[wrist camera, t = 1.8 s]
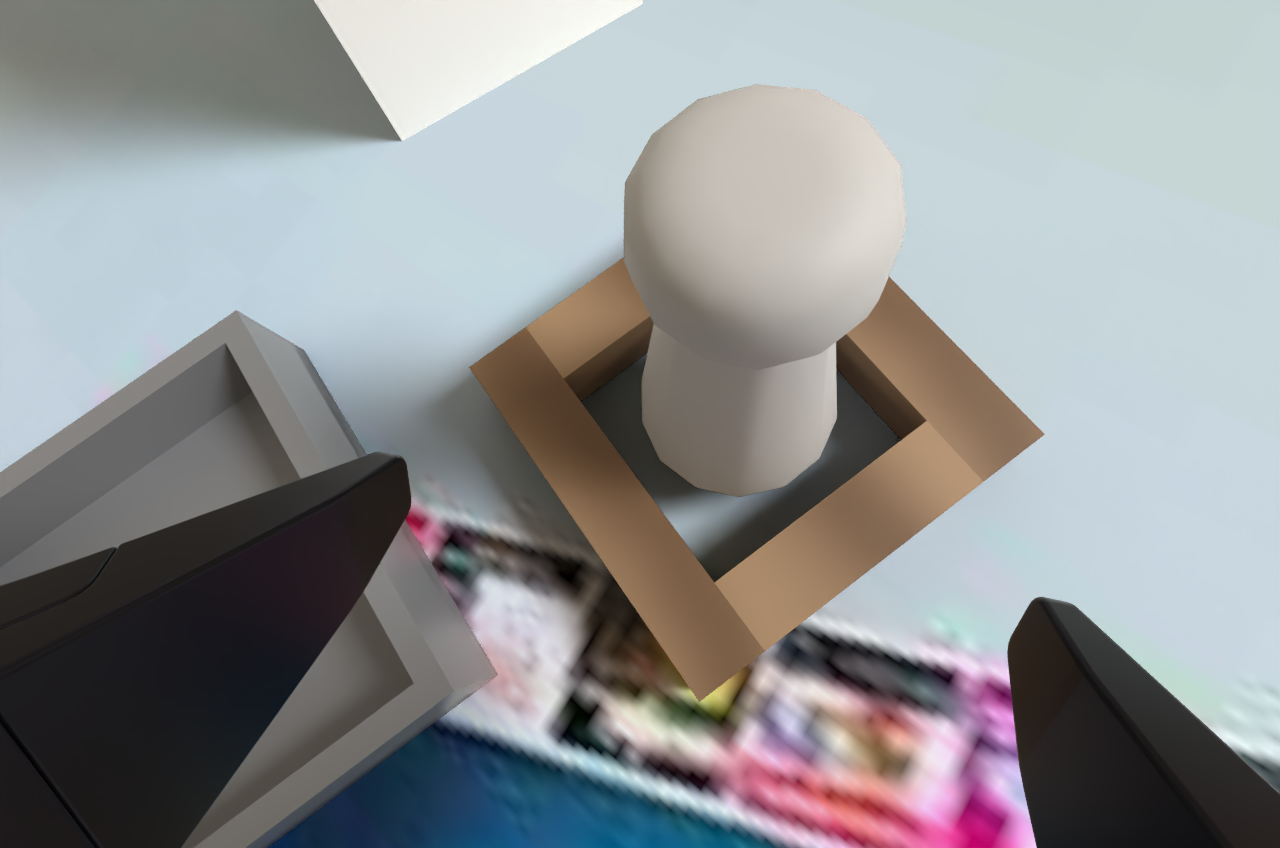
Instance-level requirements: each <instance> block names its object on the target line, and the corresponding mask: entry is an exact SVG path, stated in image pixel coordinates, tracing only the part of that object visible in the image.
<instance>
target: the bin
mask: <svg viewBox="0 0 1280 848" xmlns="http://www.w3.org/2000/svg"><path fill="white" fill-rule="evenodd" d="M363 456H366V453H365V451H364V450H363V448H362V446H361V445H360V443H359V441H358V440H357V438H356V436H355V435H354V433H353V431H352V430H351V428H350V426H349V425H348V423H347V421H346V420H345V418H344V416H343V415H342V413H341V411H340V410H339V408H338V406H337V405H336V403H335V401H334V400H333V398H332V396H331V394H330V393H329V391H328V389H327V388H326V386H325V384H324V383H323V381H322V379H321V378H320V376H319V374H318V373H317V371H316V369H315V368H314V366H313V364H312V363H311V361H310V359H309V358H308V356H307V354H306V353H305V351H304V350H303V349H301V348H299V347H298V346H296V345H294V344H293V343H291V342H289V341H288V340H286V339H284V338H283V337H281V336H279V335H277V334H276V333H274V332H272V331H271V330H269V329H267V328H266V327H264V326H262V325H261V324H259V323H257V322H255V321H254V320H252V319H250V318H249V317H247V316H245V315H244V314H242V313H240V312H239V311H237V310H236V311H235V312H233V313H232V314H230V315H229V316H227V317H226V318H224V319H223V320H222V321H220V322H219V323H217V324H216V325H214V326H213V327H211V328H210V329H208V330H207V331H206V332H204V333H203V334H201V335H200V336H198V337H197V338H195V339H194V340H192V341H191V342H190V343H188V344H187V345H185V346H184V347H182V348H181V349H179V350H178V351H176V352H175V353H174V354H172V355H171V356H169V357H168V358H166V359H165V360H163V361H162V362H160V363H159V364H157V365H156V366H155V367H153V368H152V369H150V370H149V371H147V372H146V373H144V374H143V375H141V376H140V377H139V378H137V379H136V380H134V381H133V382H131V383H130V384H128V385H127V386H125V387H124V388H123V389H121V390H120V391H118V392H117V393H115V394H114V395H112V396H111V397H109V398H108V399H107V400H105V401H104V402H102V403H101V404H99V405H98V406H96V407H95V408H93V409H92V410H91V411H89V412H88V413H86V414H85V415H83V416H82V417H80V418H79V419H77V420H76V421H75V422H73V423H72V424H70V425H69V426H67V427H66V428H64V429H63V430H61V431H60V432H59V433H57V434H56V435H54V436H53V437H51V438H50V439H48V440H47V441H45V442H44V443H42V444H41V445H40V446H38V447H37V448H35V449H34V450H32V451H31V452H29V453H28V454H26V455H25V456H24V457H22V458H21V459H19V460H18V461H16V462H15V463H13V464H12V465H10V466H9V467H8V468H6V469H5V470H3V471H2V472H0V585H3V584H6V583H9V582H12V581H16V580H19V579H22V578H25V577H28V576H31V575H34V574H37V573H40V572H43V571H45V570H48V569H51V568H54V567H57V566H60V565H63V564H66V563H69V562H71V561H74V560H77V559H80V558H83V557H86V556H88V555H91V554H94V553H97V552H99V551H102V550H105V549H107V548H110V547H116V548H118V546H119V545H120V544H122V543H125V542H127V541H130V540H133V539H136V538H138V537H141V536H144V535H147V534H149V533H152V532H155V531H158V530H161V529H163V528H166V527H169V526H172V525H174V524H177V523H180V522H183V521H185V520H188V519H191V518H194V517H197V516H199V515H202V514H205V513H208V512H210V511H213V510H216V509H219V508H222V507H224V506H227V505H230V504H233V503H235V502H238V501H241V500H244V499H246V498H249V497H252V496H255V495H258V494H260V493H263V492H266V491H269V490H271V489H274V488H277V487H280V486H282V485H285V484H288V483H291V482H294V481H296V480H299V479H302V478H305V477H307V476H310V475H313V474H316V473H318V472H321V471H324V470H327V469H330V468H332V467H335V466H338V465H341V464H343V463H346V462H349V461H352V460H355V459H357V458H360V457H363ZM497 675H498V674H497V672H496V671H495V669H494V667H493V666H492V664H491V662H490V661H489V659H488V657H487V656H486V654H485V652H484V651H483V649H482V647H481V646H480V644H479V642H478V641H477V639H476V637H475V636H474V634H473V632H472V631H471V629H470V627H469V626H468V624H467V622H466V621H465V619H464V617H463V616H462V614H461V612H460V611H459V609H458V607H457V605H456V604H455V602H454V600H453V599H452V597H451V595H450V594H449V592H448V590H447V589H446V587H445V585H444V584H443V582H442V580H441V579H440V577H439V575H438V574H437V572H436V570H435V569H434V567H433V565H432V564H431V562H430V560H429V559H428V557H427V555H426V554H425V552H424V550H423V549H422V547H421V545H420V544H419V542H418V540H417V539H416V537H415V535H414V533H413V532H412V530H411V528H410V527H409V525H408V523H407V522H406V520H404V522H403V524H402V526H401V527H400V529H399V531H398V533H397V535H396V536H395V538H394V540H393V542H392V543H391V545H390V547H389V549H388V550H387V552H386V554H385V556H384V558H383V559H382V561H381V563H380V565H379V566H378V568H377V570H376V572H375V573H374V575H373V577H372V579H371V581H370V582H369V584H368V586H367V587H366V589H365V590H364V592H363V594H362V595H361V597H360V598H359V600H358V601H357V603H356V604H355V606H354V607H353V609H352V610H351V611H350V613H349V614H348V616H347V617H346V618H345V620H344V621H343V623H342V624H341V625H340V627H339V628H338V630H337V631H336V632H335V634H334V635H333V637H332V638H331V639H330V641H329V642H328V644H327V645H326V646H325V648H324V649H323V651H322V652H321V653H320V655H319V656H318V658H317V659H316V660H315V662H314V663H313V665H312V666H311V667H310V669H309V670H308V672H307V673H306V674H305V676H304V677H303V679H302V680H301V681H300V683H299V684H298V686H297V687H296V688H295V690H294V691H293V693H292V694H291V695H290V697H289V698H288V700H287V701H286V702H285V704H284V705H283V707H282V708H281V709H280V711H279V712H278V714H277V715H276V716H275V718H274V719H273V721H272V722H271V723H270V725H269V726H268V728H267V729H266V730H265V732H264V733H263V735H262V736H261V737H260V739H259V740H258V742H257V743H256V744H255V746H254V747H253V749H252V750H251V751H250V753H249V754H248V756H247V757H246V758H245V760H244V761H243V763H242V764H241V765H240V767H239V768H238V770H237V771H236V772H235V774H234V775H233V777H232V778H231V779H230V781H229V782H228V784H227V785H226V786H225V788H224V789H223V791H222V792H221V793H220V795H219V796H218V798H217V799H216V800H215V802H214V803H213V805H212V806H211V807H210V809H209V810H208V812H207V813H206V814H205V816H204V817H203V819H202V820H201V821H200V823H199V824H198V826H197V827H196V828H195V830H194V831H193V833H192V834H191V835H190V837H189V838H188V840H187V841H186V842H185V844H184V845H183V847H182V848H268V847H270V846H271V845H272V844H274V843H275V842H276V841H278V840H279V839H280V838H282V837H283V836H284V835H286V834H287V833H288V832H290V831H291V830H292V829H294V828H295V827H296V826H298V825H299V824H300V823H301V822H303V821H304V820H305V819H307V818H308V817H309V816H311V815H312V814H313V813H315V812H316V811H317V810H319V809H320V808H321V807H323V806H324V805H325V804H327V803H328V802H329V801H331V800H332V799H333V798H335V797H336V796H337V795H339V794H340V793H341V792H343V791H344V790H345V789H347V788H348V787H349V786H351V785H352V784H353V783H355V782H356V781H357V780H359V779H360V778H361V777H363V776H364V775H365V774H367V773H368V772H369V771H371V770H372V769H373V768H375V767H376V766H377V765H379V764H380V763H381V762H383V761H384V760H385V759H387V758H388V757H389V756H390V755H392V754H393V753H394V752H396V751H397V750H398V749H400V748H401V747H402V746H404V745H405V744H406V743H408V742H409V741H410V740H412V739H413V738H414V737H416V736H417V735H418V734H420V733H421V732H422V731H424V730H425V729H426V728H428V727H429V726H430V725H432V724H433V723H434V722H436V721H437V720H438V719H440V718H441V717H442V716H444V715H445V714H446V713H448V712H449V711H450V710H452V709H453V708H454V707H456V706H457V705H458V704H460V703H461V702H462V701H464V700H465V699H466V698H468V697H469V696H470V695H472V694H473V693H474V692H475V691H477V690H478V689H479V688H481V687H482V686H483V685H485V684H486V683H487V682H489V681H490V680H491V679H493V678H494V677H495V676H497Z"/></svg>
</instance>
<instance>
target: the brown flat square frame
mask: <svg viewBox="0 0 1280 848" xmlns="http://www.w3.org/2000/svg"><path fill="white" fill-rule="evenodd" d="M653 324H654V322H653V321H652V319H651V317H650V315H649V313H648V311H647V309H646V307H645V305H644V303H643V301H642V299H641V297H640V295H639V293H638V291H637V289H636V287H635V285H634V283H633V281H632V279H631V277H630V274H629V272H628V269H627V267H626V264H625V262H624V258H622V259H621V260H619V261H618V262H617V263H615V264H614V265H612V266H611V267H610V268H608V269H607V270H605V271H604V272H603V273H601V274H600V275H598V276H597V277H596V278H594V279H593V280H591V281H590V282H589V283H587V284H586V285H584V286H583V287H582V288H580V289H579V290H577V291H576V292H575V293H573V294H572V295H570V296H569V297H567V298H566V299H565V300H563V301H562V302H560V303H559V304H558V305H556V306H555V307H553V308H552V309H551V310H549V311H548V312H546V313H545V314H544V315H542V316H541V317H539V318H538V319H537V320H535V321H534V322H532V323H531V324H530V325H528V326H527V327H525V328H524V329H523V330H521V331H520V332H518V333H517V334H516V335H514V336H513V337H511V338H510V339H509V340H507V341H506V342H504V343H503V344H502V345H500V346H499V347H497V348H496V349H495V350H493V351H492V352H490V353H489V354H488V355H486V356H485V357H483V358H482V359H481V360H479V361H478V362H476V363H475V364H474V365H472V366H471V367H469V368H470V369H471V371H472V372H473V374H474V375H475V377H476V378H477V380H478V381H479V382H480V384H481V385H482V387H483V388H484V390H485V391H486V393H487V394H488V396H489V397H490V398H491V400H492V401H493V403H494V404H495V406H496V407H497V409H498V410H499V412H500V413H501V414H502V416H503V417H504V419H505V420H506V422H507V423H508V425H509V426H510V427H511V429H512V430H513V432H514V433H515V435H516V436H517V438H518V439H519V441H520V442H521V443H522V445H523V446H524V448H525V449H526V451H527V452H528V454H529V455H530V457H531V458H532V459H533V461H534V462H535V464H536V465H537V467H538V468H539V470H540V471H541V473H542V474H543V475H544V477H545V478H546V480H547V481H548V483H549V484H550V486H551V487H552V489H553V490H554V491H555V493H556V494H557V496H558V497H559V499H560V500H561V502H562V503H563V505H564V506H565V507H566V509H567V510H568V512H569V513H570V515H571V516H572V518H573V519H574V520H575V522H576V523H577V525H578V526H579V528H580V529H581V531H582V532H583V534H584V535H585V536H586V538H587V539H588V541H589V542H590V544H591V545H592V547H593V548H594V550H595V551H596V552H597V554H598V555H599V557H600V558H601V560H602V561H603V563H604V564H605V566H606V567H607V568H608V570H609V571H610V573H611V574H612V576H613V577H614V579H615V580H616V582H617V583H618V584H619V586H620V587H621V589H622V590H623V592H624V593H625V595H626V596H627V598H628V599H629V600H630V602H631V603H632V605H633V606H634V608H635V609H636V611H637V612H638V613H639V615H640V616H641V618H642V619H643V621H644V622H645V624H646V625H647V627H648V628H649V629H650V631H651V632H652V634H653V635H654V637H655V638H656V640H657V641H658V643H659V644H660V645H661V647H662V648H663V650H664V651H665V653H666V654H667V656H668V657H669V659H670V660H671V661H672V663H673V664H674V666H675V667H676V669H677V670H678V672H679V673H680V675H681V676H682V677H683V679H684V680H685V682H686V683H687V685H688V686H689V688H690V689H691V691H692V692H693V693H694V695H695V696H696V698H697V699H698V701H699V702H700V701H701V700H702V699H704V698H705V697H706V696H708V695H709V694H710V693H711V692H713V691H714V690H715V689H717V688H718V687H719V686H721V685H722V684H723V683H724V682H726V681H727V680H728V679H730V678H731V677H732V676H733V675H735V674H736V673H737V672H739V671H740V670H741V669H742V668H744V667H745V666H746V665H748V664H749V663H750V662H751V661H753V660H754V659H755V658H757V657H758V656H759V655H761V654H762V653H763V652H764V651H766V650H767V649H768V648H770V647H771V646H772V645H773V644H775V643H776V642H777V641H779V640H780V639H781V638H782V637H784V636H785V635H786V634H788V633H789V632H790V631H791V630H793V629H794V628H795V627H797V626H798V625H799V624H801V623H802V622H803V621H804V620H806V619H807V618H808V617H810V616H811V615H812V614H813V613H815V612H816V611H817V610H819V609H820V608H821V607H822V606H824V605H825V604H826V603H828V602H829V601H830V600H831V599H833V598H834V597H835V596H837V595H838V594H839V593H840V592H842V591H843V590H844V589H846V588H847V587H848V586H850V585H851V584H852V583H853V582H855V581H856V580H857V579H859V578H860V577H861V576H862V575H864V574H865V573H866V572H868V571H869V570H870V569H871V568H873V567H874V566H875V565H877V564H878V563H879V562H880V561H882V560H883V559H884V558H886V557H887V556H888V555H890V554H891V553H892V552H893V551H895V550H896V549H897V548H899V547H900V546H901V545H902V544H904V543H905V542H906V541H908V540H909V539H910V538H911V537H913V536H914V535H915V534H917V533H918V532H919V531H920V530H922V529H923V528H924V527H926V526H927V525H928V524H930V523H931V522H932V521H933V520H935V519H936V518H937V517H939V516H940V515H941V514H942V513H944V512H945V511H946V510H948V509H949V508H950V507H951V506H953V505H954V504H955V503H957V502H958V501H959V500H960V499H962V498H963V497H964V496H966V495H967V494H968V493H970V492H971V491H972V490H973V489H975V488H976V487H977V486H979V485H980V484H981V483H982V482H984V481H985V480H986V479H988V478H989V477H990V476H991V475H993V474H994V473H995V472H997V471H998V470H999V469H1000V468H1002V467H1003V466H1004V465H1006V464H1007V463H1008V462H1010V461H1011V460H1012V459H1013V458H1015V457H1016V456H1017V455H1019V454H1020V453H1021V452H1022V451H1024V450H1025V449H1026V448H1028V447H1029V446H1030V445H1031V444H1033V443H1034V442H1035V441H1037V440H1038V439H1039V438H1040V437H1042V436H1043V435H1044V433H1043V432H1042V431H1041V430H1040V429H1039V428H1038V427H1037V426H1036V425H1035V424H1034V423H1033V422H1032V421H1031V420H1030V419H1029V418H1028V417H1027V416H1026V415H1025V414H1024V413H1023V412H1022V411H1021V410H1020V409H1019V408H1018V407H1017V406H1016V405H1015V404H1014V403H1013V402H1012V401H1011V400H1010V399H1009V398H1008V397H1007V396H1006V395H1005V394H1004V393H1003V392H1002V391H1001V390H1000V389H999V388H998V387H997V386H996V385H995V384H994V383H993V382H992V381H991V380H990V379H989V378H988V377H987V375H986V374H985V373H984V372H983V371H982V370H981V369H980V368H979V367H978V366H977V365H976V364H975V363H974V362H973V361H972V360H971V359H970V358H969V357H968V356H967V355H966V354H965V353H964V352H963V351H962V350H961V349H960V348H959V347H958V346H957V345H956V344H955V343H954V342H953V341H952V340H951V339H950V338H949V337H948V336H947V335H946V334H945V333H944V332H943V331H942V330H941V329H940V328H939V327H938V326H937V325H936V324H935V323H934V322H933V321H932V320H931V319H930V318H929V317H928V316H927V315H926V314H925V313H924V312H923V311H922V310H921V309H920V308H919V307H918V306H917V305H916V304H915V303H914V302H913V301H912V300H911V299H910V298H909V296H908V295H907V294H906V293H905V292H904V291H903V290H902V289H901V288H900V287H899V286H898V285H897V284H896V283H895V282H894V281H893V280H892V279H891V278H890V277H888V280H887V282H886V284H885V287H884V289H883V291H882V294H881V296H880V298H879V301H878V302H877V304H876V305H875V307H874V308H873V310H872V311H871V312H870V314H869V315H868V317H867V318H866V319H865V320H863V321H862V322H861V323H860V324H858V325H857V326H856V327H854V328H853V329H852V330H851V331H849V332H848V333H847V334H845V335H844V336H843V337H842V338H840V339H839V340H838V341H836V368H837V370H838V371H839V372H840V373H841V374H842V375H843V376H844V377H845V378H846V380H847V381H848V382H849V383H850V384H851V385H852V386H853V387H854V388H855V389H856V391H857V392H858V393H859V394H860V395H861V396H862V397H863V398H864V399H865V401H866V402H867V403H868V404H869V405H870V406H871V407H872V408H873V409H874V411H875V412H876V413H877V414H878V415H879V416H880V417H881V418H882V419H883V420H884V422H885V423H886V424H887V425H888V426H889V427H890V428H891V429H892V430H893V432H894V433H895V434H896V435H897V436H898V437H899V438H900V439H901V441H900V442H898V443H897V444H896V445H894V446H893V447H892V448H890V449H889V450H888V451H886V452H885V453H884V454H883V455H881V456H880V457H879V458H877V459H876V460H875V461H873V462H872V463H871V464H869V465H868V466H867V467H865V468H864V469H863V470H862V471H860V472H859V473H858V474H856V475H855V476H854V477H852V478H851V479H850V480H848V481H847V482H846V483H844V484H843V485H842V486H840V487H839V488H838V489H837V490H835V491H834V492H833V493H831V494H830V495H829V496H827V497H826V498H825V499H823V500H822V501H821V502H819V503H818V504H817V505H816V506H814V507H813V508H812V509H810V510H809V511H808V512H806V513H805V514H804V515H802V516H801V517H800V518H798V519H797V520H796V521H795V522H793V523H792V524H791V525H789V526H788V527H787V528H785V529H784V530H783V531H781V532H780V533H779V534H777V535H776V536H775V537H774V538H772V539H771V540H770V541H768V542H767V543H766V544H764V545H763V546H762V547H760V548H759V549H758V550H756V551H755V552H754V553H753V554H751V555H750V556H749V557H747V558H746V559H745V560H743V561H742V562H741V563H739V564H738V565H737V566H735V567H734V568H733V569H732V570H730V571H729V572H728V573H726V574H725V575H724V576H722V577H721V578H720V579H718V580H717V581H716V582H714V581H713V580H712V579H711V577H710V576H709V575H708V573H707V572H706V571H705V569H704V568H703V567H702V565H701V564H700V563H699V561H698V560H697V558H696V557H695V556H694V554H693V553H692V552H691V550H690V549H689V548H688V546H687V545H686V544H685V542H684V541H683V539H682V538H681V537H680V535H679V534H678V533H677V531H676V530H675V529H674V527H673V526H672V525H671V523H670V522H669V521H668V519H667V518H666V516H665V515H664V514H663V512H662V511H661V510H660V508H659V507H658V506H657V504H656V503H655V502H654V500H653V499H652V498H651V496H650V495H649V493H648V492H647V491H646V489H645V488H644V487H643V485H642V484H641V483H640V481H639V480H638V479H637V477H636V476H635V475H634V473H633V472H632V470H631V469H630V468H629V466H628V465H627V464H626V462H625V461H624V460H623V458H622V457H621V456H620V454H619V453H618V452H617V450H616V449H615V447H614V446H613V445H612V443H611V442H610V441H609V439H608V438H607V437H606V435H605V434H604V433H603V431H602V430H601V429H600V427H599V426H598V424H597V423H596V422H595V420H594V419H593V418H592V416H591V415H590V414H589V412H588V411H587V410H586V408H585V407H584V405H583V404H582V403H581V401H582V400H583V399H585V398H586V397H588V396H589V395H590V394H592V393H593V392H594V391H596V390H597V389H599V388H600V387H601V386H603V385H604V384H605V383H607V382H608V381H610V380H611V379H612V378H614V377H615V376H616V375H618V374H619V373H621V372H622V371H623V370H625V369H626V368H627V367H629V366H630V365H632V364H633V363H634V362H636V361H637V360H638V359H640V358H641V357H643V356H644V355H645V354H647V353H648V348H649V343H650V339H651V334H652V329H653Z"/></svg>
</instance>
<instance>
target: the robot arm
mask: <svg viewBox="0 0 1280 848" xmlns="http://www.w3.org/2000/svg"><path fill="white" fill-rule="evenodd" d="M410 507H411V492H410V485H409V478H408V471H407V465H406V462H405V460H404V459H403V458H402V457H401V456H398V455H393V454H389V453H384V452H374V453H371V454H368V455H366V456H363V457H360V458H357V459H355V460H352V461H349V462H346V463H343V464H341V465H338V466H335V467H332V468H330V469H327V470H324V471H321V472H318V473H316V474H313V475H310V476H307V477H305V478H302V479H299V480H296V481H294V482H291V483H288V484H285V485H282V486H280V487H277V488H274V489H271V490H269V491H266V492H263V493H260V494H258V495H255V496H252V497H249V498H246V499H244V500H241V501H238V502H235V503H233V504H230V505H227V506H224V507H222V508H219V509H216V510H213V511H210V512H208V513H205V514H202V515H199V516H197V517H194V518H191V519H188V520H185V521H183V522H180V523H177V524H174V525H172V526H169V527H166V528H163V529H161V530H158V531H155V532H152V533H149V534H147V535H144V536H141V537H138V538H136V539H133V540H130V541H127V542H125V543H122V544H120V545H119V546H118V548H116V547H110V548H107V549H105V550H102V551H99V552H97V553H94V554H91V555H88V556H86V557H83V558H80V559H77V560H74V561H71V562H69V563H66V564H63V565H60V566H57V567H54V568H51V569H48V570H45V571H43V572H40V573H37V574H34V575H31V576H28V577H25V578H22V579H19V580H16V581H12V582H9V583H6V584H3V585H0V848H182V847H183V845H184V844H185V842H186V841H187V840H188V838H189V837H190V835H191V834H192V833H193V831H194V830H195V828H196V827H197V826H198V824H199V823H200V821H201V820H202V819H203V817H204V816H205V814H206V813H207V812H208V810H209V809H210V807H211V806H212V805H213V803H214V802H215V800H216V799H217V798H218V796H219V795H220V793H221V792H222V791H223V789H224V788H225V786H226V785H227V784H228V782H229V781H230V779H231V778H232V777H233V775H234V774H235V772H236V771H237V770H238V768H239V767H240V765H241V764H242V763H243V761H244V760H245V758H246V757H247V756H248V754H249V753H250V751H251V750H252V749H253V747H254V746H255V744H256V743H257V742H258V740H259V739H260V737H261V736H262V735H263V733H264V732H265V730H266V729H267V728H268V726H269V725H270V723H271V722H272V721H273V719H274V718H275V716H276V715H277V714H278V712H279V711H280V709H281V708H282V707H283V705H284V704H285V702H286V701H287V700H288V698H289V697H290V695H291V694H292V693H293V691H294V690H295V688H296V687H297V686H298V684H299V683H300V681H301V680H302V679H303V677H304V676H305V674H306V673H307V672H308V670H309V669H310V667H311V666H312V665H313V663H314V662H315V660H316V659H317V658H318V656H319V655H320V653H321V652H322V651H323V649H324V648H325V646H326V645H327V644H328V642H329V641H330V639H331V638H332V637H333V635H334V634H335V632H336V631H337V630H338V628H339V627H340V625H341V624H342V623H343V621H344V620H345V618H346V617H347V616H348V614H349V613H350V611H351V610H352V609H353V607H354V606H355V604H356V603H357V601H358V600H359V598H360V597H361V595H362V594H363V592H364V590H365V589H366V587H367V586H368V584H369V582H370V581H371V579H372V577H373V575H374V573H375V572H376V570H377V568H378V566H379V565H380V563H381V561H382V559H383V558H384V556H385V554H386V552H387V550H388V549H389V547H390V545H391V543H392V542H393V540H394V538H395V536H396V535H397V533H398V531H399V529H400V527H401V526H402V524H403V522H404V520H405V519H406V517H407V515H408V513H409V510H410ZM1007 654H1008V666H1009V675H1010V685H1011V695H1012V704H1013V714H1014V723H1015V733H1016V743H1017V752H1018V759H1019V766H1020V772H1021V777H1022V782H1023V788H1024V792H1025V797H1026V801H1027V806H1028V810H1029V815H1030V819H1031V824H1032V828H1033V833H1034V837H1035V842H1036V846H1037V848H1280V793H1279V792H1278V791H1277V790H1276V789H1275V788H1274V787H1273V786H1272V785H1270V784H1269V783H1268V782H1267V781H1266V780H1265V779H1264V778H1263V777H1262V776H1261V775H1260V774H1258V773H1257V772H1256V771H1255V770H1254V769H1253V768H1252V767H1251V766H1250V765H1249V764H1248V763H1246V762H1245V761H1244V760H1243V759H1242V758H1241V757H1240V756H1239V755H1238V754H1237V753H1236V752H1234V751H1233V750H1232V749H1231V748H1230V747H1229V746H1228V745H1227V744H1226V743H1225V742H1223V741H1222V740H1221V739H1220V738H1219V737H1218V736H1217V735H1216V734H1215V733H1214V732H1213V731H1211V730H1210V729H1209V728H1208V727H1207V726H1206V725H1205V724H1204V723H1203V722H1202V721H1201V720H1199V719H1198V718H1197V717H1196V716H1195V715H1194V714H1193V713H1192V712H1191V711H1190V710H1189V709H1187V708H1186V707H1185V706H1184V705H1183V704H1182V703H1181V702H1180V701H1179V700H1178V699H1177V698H1175V697H1174V696H1173V695H1172V694H1171V693H1170V692H1169V691H1168V690H1167V689H1166V688H1164V687H1163V686H1162V685H1161V684H1160V683H1159V682H1158V681H1157V680H1156V679H1155V678H1154V677H1152V676H1151V675H1150V674H1149V673H1148V672H1147V671H1146V670H1145V669H1144V668H1143V667H1142V666H1140V665H1139V664H1138V663H1137V662H1136V661H1135V660H1134V659H1133V658H1132V657H1131V656H1130V655H1128V654H1127V653H1126V652H1125V651H1124V650H1123V649H1122V648H1121V647H1120V646H1119V645H1118V644H1116V643H1115V642H1114V641H1113V640H1112V639H1111V638H1110V637H1109V636H1108V635H1107V634H1105V633H1104V632H1103V631H1102V630H1101V629H1100V628H1099V627H1098V626H1097V625H1096V624H1095V623H1093V622H1092V621H1091V620H1090V619H1089V618H1088V617H1087V616H1086V615H1085V614H1084V613H1083V612H1081V611H1080V610H1079V609H1078V608H1077V607H1076V606H1074V605H1073V604H1071V603H1068V602H1064V601H1059V600H1055V599H1050V598H1045V597H1038V598H1035V599H1034V600H1033V601H1032V602H1031V603H1030V604H1029V606H1028V608H1027V609H1026V611H1025V613H1024V615H1023V616H1022V618H1021V620H1020V622H1019V623H1018V625H1017V627H1016V629H1015V630H1014V632H1013V634H1012V636H1011V638H1010V641H1009V644H1008V653H1007Z"/></svg>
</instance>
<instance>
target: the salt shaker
mask: <svg viewBox="0 0 1280 848" xmlns="http://www.w3.org/2000/svg"><path fill="white" fill-rule="evenodd" d="M905 226H906V210H905V200H904V189H903V179H902V168H901V164H900V162H899V161H898V160H897V158H896V157H895V156H894V154H893V153H892V152H891V150H890V149H889V147H888V146H887V145H886V143H885V142H884V141H883V139H882V138H881V137H880V135H879V134H878V133H877V131H876V130H875V129H874V127H873V126H872V124H871V123H870V122H869V120H868V119H867V118H865V117H863V116H861V115H860V114H858V113H856V112H854V111H852V110H851V109H849V108H847V107H845V106H843V105H842V104H840V103H838V102H836V101H834V100H833V99H831V98H829V97H827V96H825V95H824V94H822V93H820V92H818V91H817V90H808V89H798V88H788V87H777V86H767V85H752V86H748V87H744V88H740V89H736V90H732V91H729V92H725V93H721V94H717V95H713V96H709V97H705V98H701V99H698V100H696V101H695V102H694V103H693V104H691V105H690V106H689V107H687V108H686V109H685V110H683V111H682V112H681V113H679V114H678V115H677V116H676V117H674V118H673V119H672V120H670V121H669V122H668V123H666V124H665V125H664V126H662V127H661V128H660V129H659V130H657V131H656V132H655V133H653V134H652V136H651V137H650V139H649V141H648V143H647V144H646V146H645V148H644V150H643V151H642V153H641V155H640V157H639V159H638V160H637V162H636V164H635V166H634V167H633V169H632V171H631V173H630V174H629V176H628V178H627V180H626V182H625V196H624V262H625V264H626V267H627V269H628V272H629V274H630V277H631V279H632V281H633V283H634V285H635V287H636V289H637V291H638V293H639V295H640V297H641V299H642V301H643V303H644V305H645V307H646V309H647V311H648V313H649V315H650V317H651V319H652V321H653V322H654V324H653V329H652V334H651V339H650V343H649V348H648V353H647V358H646V362H645V367H644V372H643V377H642V423H643V425H644V427H645V429H646V432H647V434H648V436H649V438H650V440H651V442H652V444H653V447H654V449H655V451H656V453H657V455H658V457H659V459H660V461H662V462H663V463H664V464H666V465H667V466H668V467H670V468H671V469H672V470H674V471H675V472H676V473H677V474H679V475H680V476H681V477H683V478H684V479H685V480H687V481H688V482H689V483H691V484H692V485H693V486H695V487H697V488H701V489H705V490H709V491H714V492H718V493H723V494H727V495H732V496H736V497H742V496H747V495H751V494H755V493H759V492H764V491H768V490H772V489H776V488H781V487H785V486H786V485H787V484H788V483H790V482H791V481H792V480H793V479H795V478H796V477H797V476H798V475H800V474H801V473H802V472H803V471H804V470H806V469H807V468H808V467H809V466H811V465H812V464H813V463H814V462H816V461H817V460H818V459H819V458H820V456H821V454H822V452H823V449H824V447H825V445H826V442H827V440H828V438H829V436H830V433H831V431H832V429H833V426H834V424H835V422H836V419H837V383H836V341H838V340H839V339H840V338H842V337H843V336H844V335H845V334H847V333H848V332H849V331H851V330H852V329H853V328H854V327H856V326H857V325H858V324H860V323H861V322H862V321H863V320H865V319H866V318H867V317H868V315H869V314H870V312H871V311H872V310H873V308H874V307H875V305H876V304H877V302H878V301H879V298H880V296H881V294H882V291H883V289H884V287H885V284H886V282H887V280H888V277H889V275H890V273H891V270H892V268H893V266H894V263H895V261H896V259H897V256H898V254H899V251H900V249H901V247H902V242H903V237H904V231H905Z"/></svg>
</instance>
